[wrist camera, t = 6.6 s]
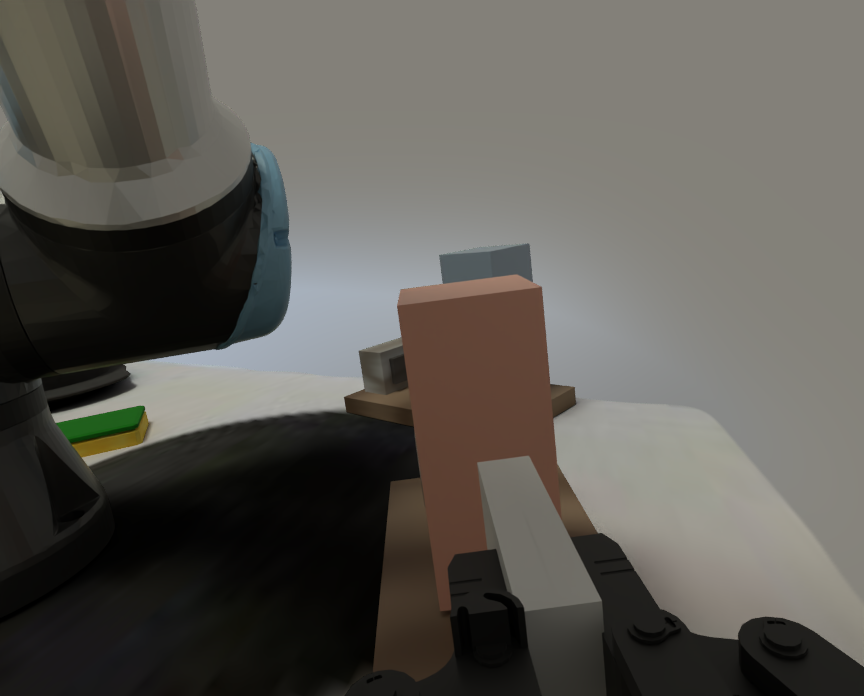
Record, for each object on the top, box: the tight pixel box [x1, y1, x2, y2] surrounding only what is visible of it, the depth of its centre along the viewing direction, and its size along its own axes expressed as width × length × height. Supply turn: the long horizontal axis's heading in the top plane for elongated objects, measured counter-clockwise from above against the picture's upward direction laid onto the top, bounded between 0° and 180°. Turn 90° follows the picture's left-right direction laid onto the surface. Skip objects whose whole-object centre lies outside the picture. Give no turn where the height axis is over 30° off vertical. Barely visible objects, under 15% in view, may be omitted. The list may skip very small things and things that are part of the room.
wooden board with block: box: [344, 337, 576, 427], centre depth 51 cm, size 18×10×6 cm, turn 47°
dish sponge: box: [56, 406, 149, 457], centre depth 54 cm, size 7×14×2 cm, turn 111°
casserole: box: [41, 364, 130, 404], centre depth 78 cm, size 25×19×8 cm
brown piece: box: [373, 436, 598, 682], centre depth 26 cm, size 18×10×6 cm, turn 2°
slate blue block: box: [439, 244, 533, 284], centre depth 47 cm, size 5×5×12 cm
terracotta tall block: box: [397, 274, 562, 611], centre depth 24 cm, size 5×5×12 cm
